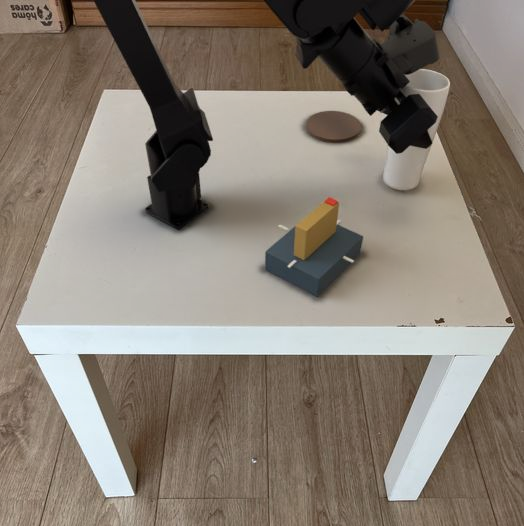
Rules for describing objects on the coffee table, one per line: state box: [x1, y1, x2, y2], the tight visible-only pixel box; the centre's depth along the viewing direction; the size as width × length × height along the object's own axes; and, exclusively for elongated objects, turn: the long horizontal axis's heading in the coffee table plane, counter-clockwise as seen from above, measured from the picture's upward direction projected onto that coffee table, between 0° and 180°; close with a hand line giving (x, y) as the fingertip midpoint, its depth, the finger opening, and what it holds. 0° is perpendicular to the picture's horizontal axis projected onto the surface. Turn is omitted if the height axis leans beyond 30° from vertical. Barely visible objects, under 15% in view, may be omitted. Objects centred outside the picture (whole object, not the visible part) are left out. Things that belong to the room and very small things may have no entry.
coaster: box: [305, 110, 362, 144], centre depth 96 cm, size 9×9×1 cm
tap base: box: [264, 219, 364, 297], centre depth 74 cm, size 11×11×3 cm
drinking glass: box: [382, 68, 451, 191], centre depth 80 cm, size 7×7×15 cm
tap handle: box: [294, 196, 340, 260], centre depth 71 cm, size 7×2×5 cm, turn 142°
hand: (419, 132), depth 81 cm, fingers closed on drinking glass, 6 cm apart
